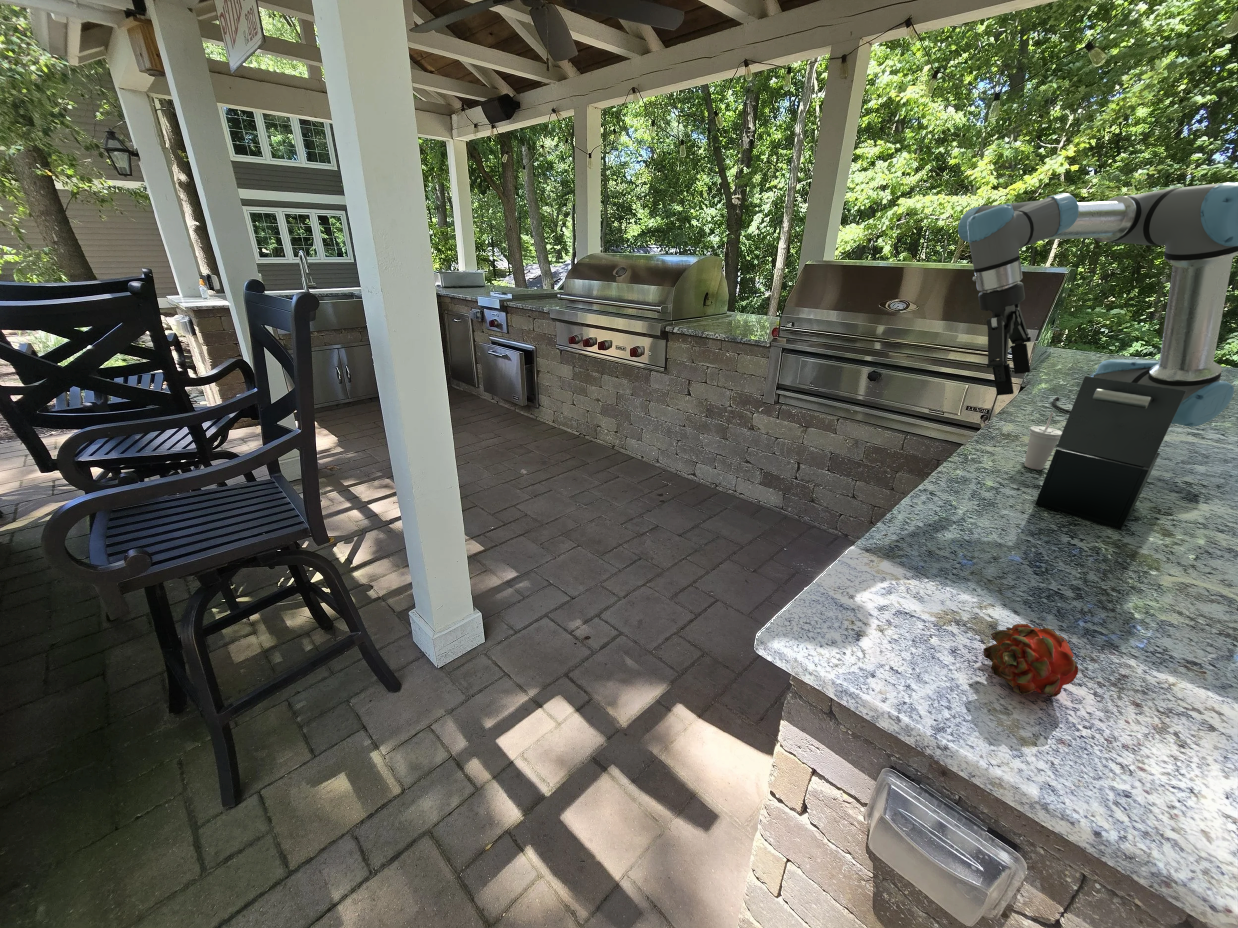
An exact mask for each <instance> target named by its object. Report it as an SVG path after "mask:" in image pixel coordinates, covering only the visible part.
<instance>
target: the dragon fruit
mask: <svg viewBox="0 0 1238 928" xmlns="http://www.w3.org/2000/svg"><path fill="white" fill-rule="evenodd" d="M990 636H991V638H992V640H993V641H994V642H995V643H993V644H991V645H989V646H987V647H984V648H983V657H984V659H988V660H989V661H990V662H991V666H990V669H991V672H992V673H993V675H994V676H996V677H998V678H1000V679H1002V680H1004V681H1005V682H1006V683H1007V684H1008V685H1010V686H1011V687H1012V692H1015V693H1017V694H1020V695H1029V694H1032V693H1033V692H1034V691H1035V692H1037V693H1038V694H1040V695H1047V697H1048V698H1056V697H1057V696H1059V695H1061V693H1062V690H1063V687H1064V686H1066V685H1069V684H1071V683H1073V682H1074V680H1075V679H1076V677H1077V676H1078V674H1079V666H1078V664H1077V661H1076V660H1075V659H1074V657H1075V656H1074V653H1073V651H1072V649H1071V647H1070V645H1069V642H1068V641H1067V640H1066V639H1065V638H1064V636H1063V635H1059V634H1058V633H1057V632H1055V630H1053V629H1052V628H1050V627H1042V628H1039V627H1037V626H1035V627H1032V626H1031V625H1029V623H1016V624H1013V625H1012V626H1011V627H1006V628H1005V629H997V630H994V631H993V632H991V634H990Z"/></svg>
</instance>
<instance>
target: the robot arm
mask: <svg viewBox="0 0 1238 928" xmlns="http://www.w3.org/2000/svg"><path fill="white" fill-rule="evenodd" d="M957 233H958V236H959V238H960V239H961V240H962V241H964V242H967V243H968V244H969V250H970V256H971V260H972V266H973V271H974V276H972V281H973V282H975V283H976V289H977V291H979V293H978V295H977V298H978V303H979V309H980V310H981V311H983V312H988V311H990V312H991V318H987V319H986V326H987V363H986V367H987V368H989V369H990V368H992V373H993V378H994V379H993V380H994V384H995V385H994V386H995V391H996V396H997V397H998V396H1007V395H1014V392H1015V391H1014V385H1013V379H1012V378H1013V377H1012V372H1011V366H1010V363H1008V357H1009V345H1010V344H1009V343H1011V345H1010V353H1011V359H1012V365H1013V373H1014V375H1017V374H1018V375H1019V374H1026V373H1030V372H1031V365H1030V356H1029V350H1028V344H1027V343H1030V342H1032V337H1031V336H1029V335H1030V333H1029V331H1028V329H1027V325H1026V322H1025V319H1024V315H1023V312H1022V309H1021V303H1022V302H1023V301H1024V300H1025V299H1026V293H1025V287H1024V283H1023V282H1022V281H1021V280H1022V279H1023V271H1022V270H1023V269H1022V263H1021V257H1020V249H1022V248H1025V247H1028V246H1031V245H1033V244H1036V243H1038V242H1041V241H1043V240H1045V241H1047V240H1070V239H1071V240H1073V239H1074V240H1075V239H1094V240H1095V241H1097V242H1100V243H1123V244H1133V245H1142V246H1157V247H1159V246H1160V247H1161V246H1162V247H1164V246H1165V247H1164V255H1163V260H1164V261H1166V262H1168V263H1169V264H1171V265H1172V267H1171V275H1170V276H1171V277H1170V281H1169V289H1168V297H1167V304H1166V312H1165V318H1164V326H1163V333H1162V340H1161V347H1160V353H1159V361H1158V360H1147V359H1126V358H1125V359H1122V358H1121V359H1119V358H1118V359H1106V360H1103V361H1101V362H1100V363H1099V364H1098V366H1097V368H1096V370H1095V372H1094V373H1093V376H1092V377H1096V378H1103V379H1110V380H1117V381H1124V382H1131V383H1138V384H1145V385H1152V386H1159V387H1166V388H1173V389H1180V390H1186V393H1185V395H1184V397H1183V399H1182V401H1181V403H1180V406H1179V408H1178V410H1177V412H1176V414H1175V416H1174V418H1173V420H1172V422H1171V424H1172V425H1179V426H1183V427H1198V426H1201V425H1204V424H1207V423H1208V422H1210V421H1212V420H1214V419H1216V417H1218V416H1219V415H1220V414H1221V413H1223V412H1224V411H1225V409H1227V407H1228V406H1229V404H1230V403H1231V401H1232V400H1233V397H1234V394H1235V388H1234V386H1233V385H1232V384H1231V383H1230V382H1228V381H1226V380H1221V377H1222V371H1223V368H1222V365H1220V364H1218V363H1217V362H1215V356H1216V351H1217V346H1218V345H1217V344H1218V340H1219V333H1220V328H1221V323H1222V320H1223V319H1222V318H1223V312H1224V307H1225V302H1226V297H1227V291H1228V287H1229V281H1230V275H1231V271H1232V265H1233V260H1234V257H1236V256H1238V181H1227V182H1219V183H1210V184H1201V185H1193V186H1183V187H1172V188H1171V187H1169V188H1166V189H1165V188H1164V189H1159V190H1153V191H1148V192H1143V193H1137V194H1131V195H1118V196H1114V197H1111V198H1109V199H1107V200H1106V201H1081V202H1078V200H1077V199H1076V198H1075V197H1074V195H1072V194H1070V193H1066V192H1060V193H1057V194H1054V195H1048V196H1046V197H1045V198H1043V199H1039V200H1033V201H1023V202H1012V203H1003V204H1002V203H1001V204H993V205H992V204H991V205H981V206H975V207H972V208H970V209H968V210H967V211H966V212H965V213H964V214H963V215H962V217H961V218H960V220H959V222H958V227H957ZM1057 401H1060V396H1055V398H1053V400H1052V403H1051V404H1052V405H1053V407H1055V408H1056V409H1058V410H1060V411H1062V412H1065V413H1067V414H1070V412H1071V410H1069V409H1066V408H1064V407H1061V406H1059V405H1058V404H1057V403H1056V402H1057Z"/></svg>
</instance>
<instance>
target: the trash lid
mask: <svg viewBox="0 0 1238 928" xmlns="http://www.w3.org/2000/svg"><path fill="white" fill-rule="evenodd" d="M1185 393H1186V390H1180V389H1173V388H1166V387H1159V386H1152V385H1145V384H1138V383H1131V382H1124V381H1117V380H1110V379H1103V378H1096V377H1094V376H1089V375H1085V376H1084V377H1083V380H1082V382H1081V385H1080V387H1079V390H1078V391H1077V394H1076V396H1075V400H1074V402H1073V404H1072V407H1071V410H1070V411H1071V412H1070V413H1068V414H1069V415H1068V417H1067V420H1066V422H1065V424H1064V427H1063V429H1062V434H1061V437H1060V439H1059V440H1058V442H1057V444H1056V448H1063V449H1067V450H1071V451H1076V452H1080V453H1085V454H1089V455H1093V456H1098V457H1102V458H1106V459H1111V460H1115V461H1120V462H1124V463H1128V464H1133V465H1137V466H1141V467H1146V468H1150V467H1151V465H1152V463H1153V461H1154V458H1155V456H1156V454H1157V452H1158V453H1159V450H1160V448H1161V446H1162V444H1163V441H1164V439H1165V437H1166V435H1167V433H1168V431H1169V428H1170V427H1171V422H1172V420H1173V418H1174V416H1175V414H1176V412H1177V410H1178V408H1179V406H1180V403H1181V401H1182V399H1183V397H1184V395H1185Z"/></svg>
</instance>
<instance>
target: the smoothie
mask: <svg viewBox="0 0 1238 928" xmlns="http://www.w3.org/2000/svg"><path fill="white" fill-rule="evenodd" d="M1053 416H1054V412H1053V411H1051V412H1050V413H1049V415H1048V418H1047V421H1046V424H1045V426H1042V425H1041V426H1040V425H1035V426H1034V425H1033V426H1030V428H1029V430H1028V433H1029V437H1028V442H1027V447H1026V453H1025V458H1024V459H1025V460H1024V464H1023V465H1024V467H1025V468H1028V469H1032V470H1037V471H1041V470H1043V469H1044V467H1045V466H1046V464H1047V462H1048V460H1049V458H1050V457H1051V455H1052V453H1053V452H1054V450H1055V448H1056V447H1057V444H1058V442H1059V439H1060V437H1061V434H1062V432H1063V430H1062V431H1061V429H1060V430H1059V429H1056V428H1053V427H1050V424H1051V421H1052V418H1053Z"/></svg>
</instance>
